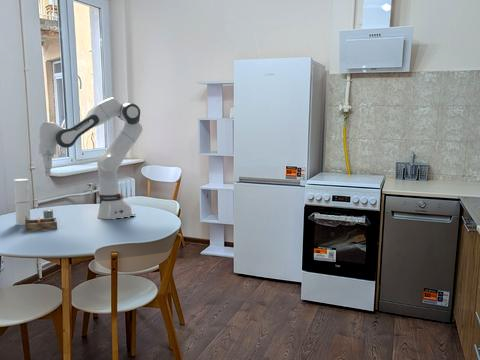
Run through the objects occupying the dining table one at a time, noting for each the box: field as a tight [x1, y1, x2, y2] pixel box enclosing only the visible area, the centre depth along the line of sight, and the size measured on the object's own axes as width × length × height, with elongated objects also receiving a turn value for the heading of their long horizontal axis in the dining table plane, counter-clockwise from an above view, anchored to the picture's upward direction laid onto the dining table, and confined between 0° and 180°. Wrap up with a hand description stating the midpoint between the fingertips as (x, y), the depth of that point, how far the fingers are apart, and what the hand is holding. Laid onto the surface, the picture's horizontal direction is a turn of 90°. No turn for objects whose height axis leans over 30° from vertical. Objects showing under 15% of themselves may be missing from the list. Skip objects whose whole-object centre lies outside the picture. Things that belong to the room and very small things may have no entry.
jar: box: [42, 209, 54, 219], centre depth 235 cm, size 5×5×6 cm
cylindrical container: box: [13, 178, 31, 226], centre depth 228 cm, size 7×7×25 cm
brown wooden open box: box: [24, 216, 58, 233], centre depth 220 cm, size 15×10×7 cm, turn 117°
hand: (47, 175), depth 231 cm, fingers open, 8 cm apart
